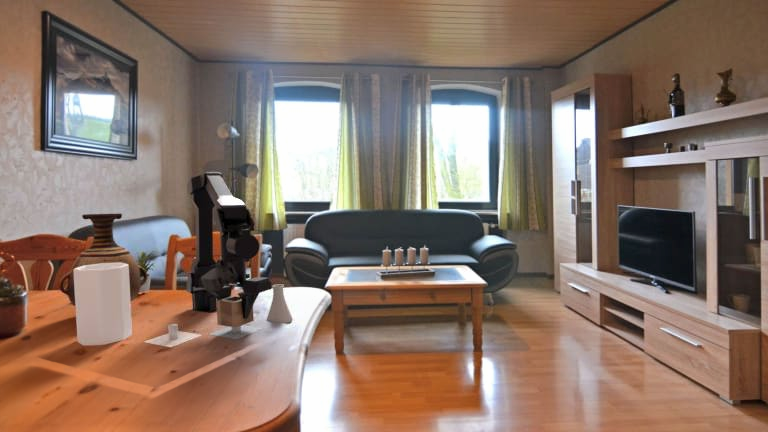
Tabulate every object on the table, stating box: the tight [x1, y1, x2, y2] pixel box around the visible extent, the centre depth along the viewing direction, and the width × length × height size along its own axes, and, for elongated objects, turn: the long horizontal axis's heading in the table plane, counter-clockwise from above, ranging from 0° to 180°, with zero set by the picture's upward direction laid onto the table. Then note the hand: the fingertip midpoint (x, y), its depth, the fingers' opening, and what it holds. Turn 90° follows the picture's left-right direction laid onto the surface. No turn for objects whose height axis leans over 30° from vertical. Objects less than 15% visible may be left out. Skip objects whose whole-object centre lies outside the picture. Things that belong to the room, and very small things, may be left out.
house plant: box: [134, 249, 160, 292], centre depth 161 cm, size 14×14×16 cm
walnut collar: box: [216, 294, 255, 328], centre depth 111 cm, size 6×6×6 cm
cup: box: [73, 263, 133, 346], centre depth 108 cm, size 11×11×18 cm
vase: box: [58, 212, 148, 307], centre depth 132 cm, size 21×18×30 cm
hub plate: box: [208, 324, 264, 340], centre depth 111 cm, size 9×9×6 cm
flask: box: [265, 283, 293, 324], centre depth 123 cm, size 7×7×10 cm
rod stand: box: [144, 323, 203, 348], centre depth 107 cm, size 9×9×4 cm
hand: (235, 317), depth 111 cm, fingers closed on walnut collar, 6 cm apart
